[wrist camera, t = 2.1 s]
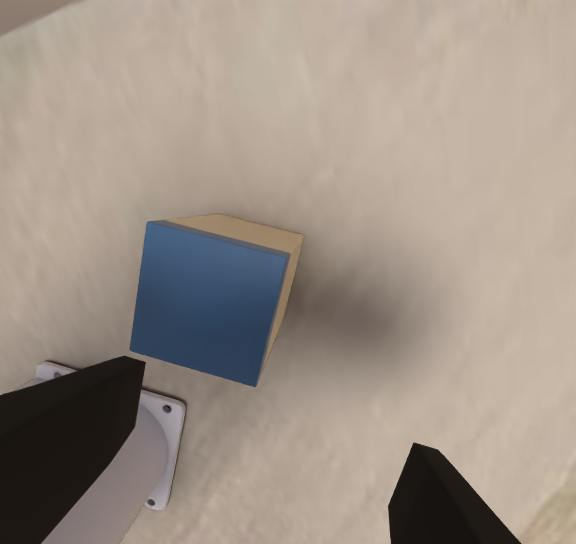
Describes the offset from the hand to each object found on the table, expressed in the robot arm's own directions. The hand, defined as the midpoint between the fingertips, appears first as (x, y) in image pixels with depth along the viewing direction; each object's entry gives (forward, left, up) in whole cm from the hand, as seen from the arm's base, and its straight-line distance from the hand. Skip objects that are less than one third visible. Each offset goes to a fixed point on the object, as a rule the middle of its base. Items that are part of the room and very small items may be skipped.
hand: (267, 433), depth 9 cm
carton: (-3, +2, -10) cm, 10 cm away
